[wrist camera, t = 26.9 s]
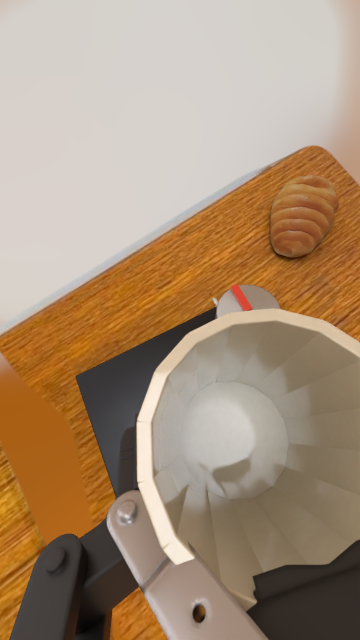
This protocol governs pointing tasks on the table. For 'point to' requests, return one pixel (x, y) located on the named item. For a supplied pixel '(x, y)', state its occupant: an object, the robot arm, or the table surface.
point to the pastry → (302, 215)
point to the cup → (254, 446)
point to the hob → (127, 387)
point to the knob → (245, 300)
